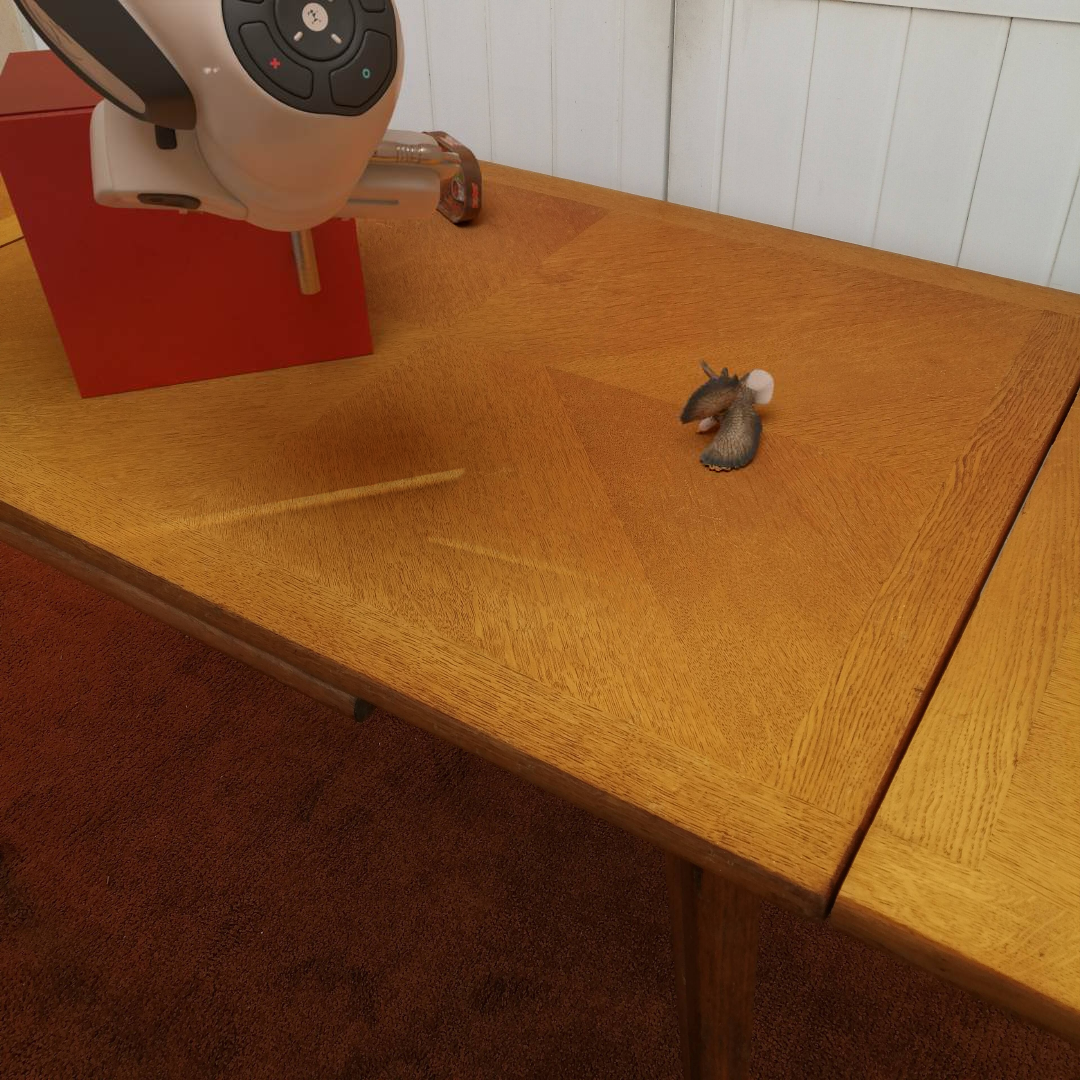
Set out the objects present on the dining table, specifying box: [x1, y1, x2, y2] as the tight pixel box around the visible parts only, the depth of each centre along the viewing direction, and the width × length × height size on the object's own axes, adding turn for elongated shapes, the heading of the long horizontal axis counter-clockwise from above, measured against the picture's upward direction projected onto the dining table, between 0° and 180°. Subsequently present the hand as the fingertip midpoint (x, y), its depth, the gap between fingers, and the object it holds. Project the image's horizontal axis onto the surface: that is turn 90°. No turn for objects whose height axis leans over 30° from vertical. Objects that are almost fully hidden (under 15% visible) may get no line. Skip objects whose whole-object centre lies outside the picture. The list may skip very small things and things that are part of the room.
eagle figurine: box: [678, 359, 775, 469], centre depth 82 cm, size 8×7×9 cm
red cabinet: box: [0, 48, 104, 117], centre depth 92 cm, size 18×26×24 cm
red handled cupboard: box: [0, 108, 374, 399], centre depth 83 cm, size 6×26×24 cm, turn 107°
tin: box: [421, 130, 483, 224], centre depth 120 cm, size 15×3×8 cm, turn 27°
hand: (264, 205), depth 67 cm, fingers open, 8 cm apart
